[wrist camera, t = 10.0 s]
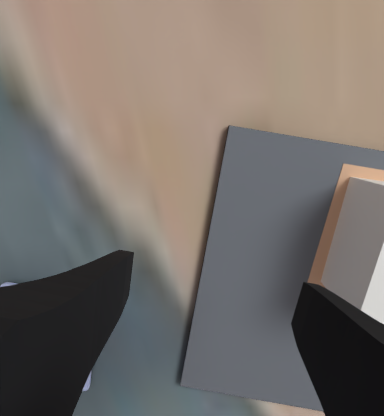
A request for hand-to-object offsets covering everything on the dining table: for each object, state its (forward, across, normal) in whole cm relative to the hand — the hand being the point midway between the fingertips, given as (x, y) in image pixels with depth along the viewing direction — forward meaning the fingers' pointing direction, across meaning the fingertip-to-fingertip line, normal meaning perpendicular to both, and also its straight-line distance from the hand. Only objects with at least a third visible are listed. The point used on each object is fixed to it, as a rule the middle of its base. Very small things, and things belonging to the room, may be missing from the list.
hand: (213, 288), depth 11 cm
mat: (+9, -8, +4) cm, 13 cm away
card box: (+9, -11, -1) cm, 14 cm away
